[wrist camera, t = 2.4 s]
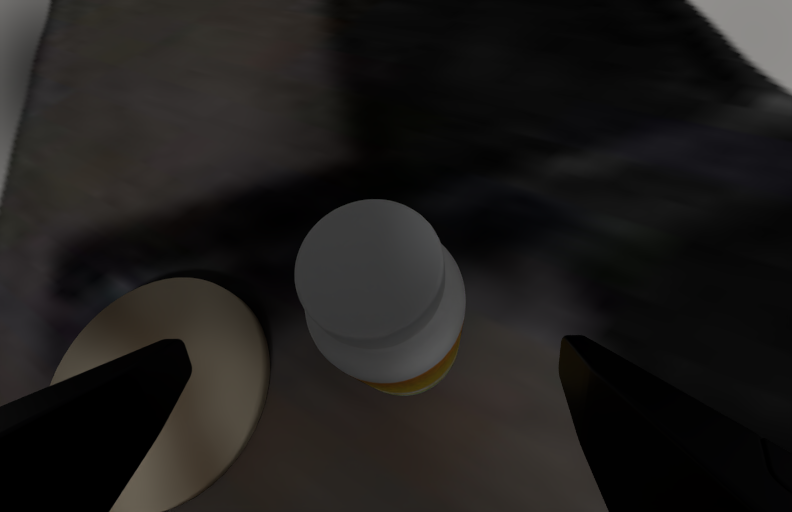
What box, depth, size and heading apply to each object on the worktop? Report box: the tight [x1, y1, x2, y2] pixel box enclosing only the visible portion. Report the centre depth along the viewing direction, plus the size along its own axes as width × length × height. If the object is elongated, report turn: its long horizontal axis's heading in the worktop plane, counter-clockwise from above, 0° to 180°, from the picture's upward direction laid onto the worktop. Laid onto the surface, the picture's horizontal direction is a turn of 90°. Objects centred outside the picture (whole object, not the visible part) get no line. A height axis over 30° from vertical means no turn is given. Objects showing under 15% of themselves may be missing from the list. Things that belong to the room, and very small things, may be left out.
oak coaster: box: [50, 278, 270, 512], centre depth 18 cm, size 11×11×1 cm
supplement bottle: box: [294, 199, 466, 396], centre depth 14 cm, size 5×5×10 cm
